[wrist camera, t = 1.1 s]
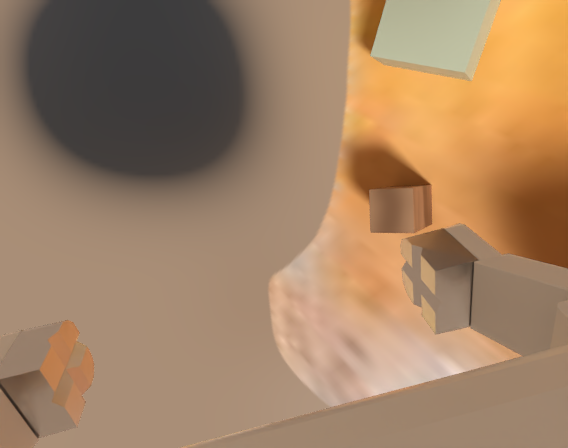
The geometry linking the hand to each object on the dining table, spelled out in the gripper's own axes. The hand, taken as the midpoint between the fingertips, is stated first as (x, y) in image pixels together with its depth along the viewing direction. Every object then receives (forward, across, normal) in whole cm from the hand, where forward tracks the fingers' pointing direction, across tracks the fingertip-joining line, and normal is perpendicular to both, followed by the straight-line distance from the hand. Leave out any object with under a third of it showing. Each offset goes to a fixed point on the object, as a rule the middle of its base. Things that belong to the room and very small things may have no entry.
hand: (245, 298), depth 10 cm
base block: (+38, -25, -1) cm, 45 cm away
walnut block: (+33, -19, +17) cm, 42 cm away
